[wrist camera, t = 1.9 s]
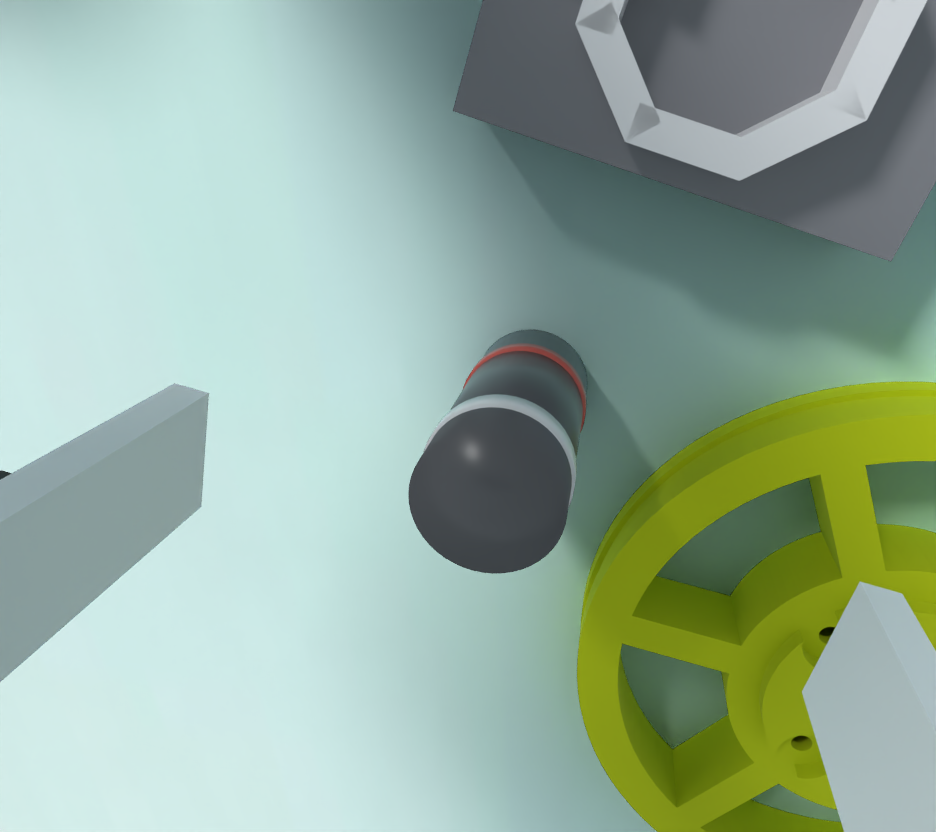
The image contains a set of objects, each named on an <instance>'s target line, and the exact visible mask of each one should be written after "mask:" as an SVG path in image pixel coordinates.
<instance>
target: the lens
mask: <svg viewBox="0 0 936 832" xmlns="http://www.w3.org/2000/svg"><path fill="white" fill-rule="evenodd" d="M586 392H587V375H586V371H585V367H584V365H583V362H582V360H581V359H580V357H579V355H578V354H577V353H576V351H575V350H574V349H573V348H572V347H571V346H570V345H569V344H568V343H567V342H565V341H564V340H563V339H561V338H559V337H558V336H556V335H553V334H551V333H548V332H545V331H540V330H521V331H516V332H513V333H510V334H508V335H506V336H504V337H502V338H500V339H499V340H498V341H496V342H495V343H494V344H493V345H492V346H491V347H490V348H489V349H488V351H487V352H486V353H485V355H484V357H483V358H482V359H481V360H480V361H479V362H478V363H477V365H476V366H475V367H474V368H473V370H472V372H471V373H470V375H469V377H468V378H467V380H466V382H465V385H464V387H463V390H462V392H461V394H460V395H459V397H458V398H457V400H456V402H455V403H454V405H453V406H452V408H451V410H450V411H449V412H448V413H447V414H446V415H445V416H444V417H443V419H442V420H441V421H440V422H439V424H438V425H437V427H436V428H435V430H434V432H433V433H432V435H431V437H430V438H429V440H428V442H427V444H426V447H425V449H424V453H423V455H422V456H421V458H420V460H419V461H418V463H417V465H416V466H415V468H414V471H413V473H412V476H411V480H410V484H409V505H410V510H411V514H412V517H413V520H414V522H415V524H416V526H417V528H418V530H419V531H420V533H421V534H422V536H423V537H424V539H425V540H426V541H427V542H428V543H429V545H430V546H431V547H432V548H434V549H435V550H436V551H437V552H438V553H439V554H441V555H442V556H443V557H445V558H446V559H448V560H450V561H451V562H453V563H455V564H457V565H459V566H462V567H464V568H467V569H470V570H474V571H479V572H484V573H507V572H513V571H517V570H521V569H524V568H526V567H529V566H531V565H533V564H535V563H536V562H538V561H540V560H541V559H542V558H544V557H545V556H546V555H547V554H548V553H549V552H550V551H551V550H552V549H553V548H554V547H555V545H556V544H557V542H558V541H559V539H560V537H561V535H562V533H563V530H564V527H565V524H566V519H567V513H568V507H569V506H570V503H571V500H572V497H573V493H574V487H575V481H576V473H577V463H576V456H577V449H578V443H579V436H580V432H581V430H582V427H583V424H584V419H585V413H586Z"/></svg>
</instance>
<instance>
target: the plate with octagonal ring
mask: <svg viewBox="0 0 936 832" xmlns="http://www.w3.org/2000/svg"><path fill="white" fill-rule="evenodd" d="M453 111H455V112H458V113H461V114H464V115H466V116H469V117H472V118H475V119H478V120H481V121H484V122H487V123H490V124H493V125H496V126H498V127H501V128H504V129H507V130H510V131H513V132H516V133H519V134H522V135H525V136H528V137H530V138H533V139H536V140H539V141H542V142H545V143H548V144H551V145H554V146H557V147H559V148H562V149H565V150H568V151H571V152H574V153H577V154H580V155H583V156H586V157H589V158H591V159H594V160H597V161H600V162H603V163H606V164H609V165H612V166H615V167H618V168H621V169H623V170H626V171H629V172H632V173H635V174H638V175H641V176H644V177H647V178H650V179H653V180H655V181H658V182H661V183H664V184H667V185H670V186H673V187H676V188H679V189H682V190H685V191H687V192H690V193H693V194H696V195H699V196H702V197H705V198H708V199H711V200H714V201H717V202H719V203H722V204H725V205H728V206H731V207H734V208H737V209H740V210H743V211H746V212H749V213H751V214H754V215H757V216H760V217H763V218H766V219H769V220H772V221H775V222H778V223H781V224H783V225H786V226H789V227H792V228H795V229H798V230H801V231H804V232H807V233H810V234H813V235H815V236H818V237H821V238H824V239H827V240H830V241H833V242H836V243H839V244H842V245H845V246H847V247H850V248H853V249H856V250H859V251H862V252H865V253H868V254H871V255H874V256H876V257H879V258H882V259H885V260H888V261H892V259H893V257H894V255H895V254H896V252H897V250H898V248H899V246H900V245H901V243H902V241H903V239H904V238H905V236H906V234H907V232H908V230H909V229H910V227H911V225H912V223H913V222H914V220H915V218H916V216H917V214H918V213H919V211H920V209H921V207H922V206H923V204H924V202H925V200H926V198H927V197H928V195H929V193H930V191H931V190H932V188H933V186H934V184H935V183H936V0H483V2H482V6H481V10H480V13H479V17H478V21H477V24H476V28H475V32H474V35H473V39H472V43H471V46H470V50H469V54H468V57H467V61H466V65H465V68H464V72H463V75H462V79H461V83H460V86H459V90H458V94H457V97H456V101H455V105H454V108H453Z"/></svg>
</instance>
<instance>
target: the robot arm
mask: <svg viewBox="0 0 936 832" xmlns="http://www.w3.org/2000/svg"><path fill="white" fill-rule="evenodd" d="M208 397H209V393H206V392H203V391H199V390H196V389H192V388H189V387H186V386H182V385H179V384H175V383H174V384H173V385H171V386H169V387H167V388H165V389H164V390H162V391H160V392H158V393H156V394H155V395H153V396H151V397H149V398H147V399H146V400H144V401H142V402H140V403H138V404H136V405H135V406H133V407H131V408H129V409H127V410H126V411H124V412H122V413H120V414H118V415H117V416H115V417H113V418H111V419H109V420H108V421H106V422H104V423H102V424H100V425H98V426H97V427H95V428H93V429H91V430H89V431H88V432H86V433H84V434H82V435H80V436H79V437H77V438H75V439H73V440H71V441H70V442H68V443H66V444H64V445H62V446H61V447H59V448H57V449H55V450H53V451H51V452H50V453H48V454H46V455H44V456H42V457H41V458H39V459H37V460H35V461H33V462H32V463H30V464H28V465H26V466H24V467H23V468H21V469H19V470H17V471H15V472H13V473H8V472H5V471H0V682H1V681H2V680H3V679H4V678H5V677H6V676H8V675H9V674H10V673H11V672H12V671H13V670H14V669H16V668H17V667H18V666H19V665H20V664H21V663H23V662H24V661H25V660H26V659H27V658H28V657H29V656H31V655H32V654H33V653H34V652H35V651H36V650H37V649H39V648H40V647H41V646H42V645H43V644H44V643H45V642H47V641H48V640H49V639H50V638H51V637H52V636H53V635H55V634H56V633H57V632H58V631H59V630H60V629H61V628H63V627H64V626H65V625H66V624H67V623H68V622H69V621H71V620H72V619H73V618H74V617H75V616H76V615H78V614H79V613H80V612H81V611H82V610H83V609H84V608H86V607H87V606H88V605H89V604H90V603H91V602H92V601H94V600H95V599H96V598H97V597H98V596H99V595H100V594H102V593H103V592H104V591H105V590H106V589H107V588H108V587H110V586H111V585H112V584H113V583H114V582H115V581H116V580H118V579H119V578H120V577H121V576H122V575H123V574H124V573H126V572H127V571H128V570H129V569H130V568H131V567H133V566H134V565H135V564H136V563H137V562H138V561H139V560H141V559H142V558H143V557H144V556H145V555H146V554H147V553H149V552H150V551H151V550H152V549H153V548H154V547H155V546H157V545H158V544H159V543H160V542H161V541H162V540H163V539H165V538H166V537H167V536H168V535H169V534H170V533H171V532H173V531H174V530H175V529H176V528H177V527H178V526H179V525H181V524H182V523H183V522H184V521H185V520H186V519H188V518H189V517H190V516H191V515H192V514H193V513H194V512H196V511H197V510H198V509H199V508H200V507H201V502H202V487H203V472H204V457H205V442H206V427H207V412H208ZM802 694H803V698H804V701H805V704H806V708H807V711H808V714H809V718H810V721H811V724H812V727H813V731H814V734H815V737H816V741H817V744H818V747H819V751H820V754H821V757H822V761H823V764H824V767H825V770H826V774H827V777H828V780H829V784H830V787H831V790H832V794H833V797H834V800H835V804H836V807H837V810H838V813H839V817H840V820H841V823H842V827H843V830H844V832H936V651H935V649H934V647H933V646H932V644H931V642H930V640H929V639H928V637H927V635H926V634H925V632H924V630H923V628H922V627H921V625H920V623H919V622H918V620H917V618H916V616H915V615H914V613H913V611H912V610H911V608H910V606H909V604H908V603H907V601H906V599H905V598H904V596H903V594H902V593H898V592H895V591H891V590H888V589H884V588H881V587H877V586H874V585H871V584H867V583H864V582H859V584H858V586H857V588H856V590H855V591H854V593H853V595H852V597H851V599H850V601H849V603H848V605H847V607H846V609H845V610H844V612H843V614H842V616H841V618H840V620H839V622H838V624H837V626H836V628H835V630H834V631H833V633H832V635H831V637H830V639H829V641H828V643H827V645H826V647H825V649H824V650H823V652H822V654H821V656H820V658H819V660H818V662H817V664H816V666H815V668H814V669H813V671H812V673H811V675H810V677H809V679H808V681H807V683H806V685H805V687H804V689H803V690H802Z"/></svg>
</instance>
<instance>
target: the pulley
mask: <svg viewBox="0 0 936 832" xmlns="http://www.w3.org/2000/svg"><path fill="white" fill-rule="evenodd" d="M907 461H936V383H933V382H881V383H867V384H859V385H850V386H843V387H837V388H832V389H826V390H821V391H817V392H812V393H808V394H804V395H800V396H796V397H793V398H789V399H786V400H783V401H779V402H776V403H773V404H771V405H768V406H765V407H762V408H760V409H757V410H754V411H752V412H750V413H747V414H745V415H743V416H741V417H738V418H736V419H734V420H732V421H730V422H728V423H726V424H724V425H722V426H720V427H718V428H716V429H714V430H713V431H711V432H709V433H708V434H706V435H704V436H703V437H701V438H699V439H697V440H696V441H694V442H693V443H691V444H690V445H689V446H687V447H686V448H684V449H683V450H681V451H680V452H678V453H677V454H676V455H675V456H673V457H672V458H671V459H670V460H668V461H667V462H666V463H665V464H663V465H662V466H661V467H660V468H659V469H658V470H657V471H656V472H654V473H653V474H652V475H651V476H650V477H649V478H648V479H647V480H646V481H645V482H644V483H643V484H642V485H641V486H640V487H639V488H638V489H637V490H636V492H635V493H634V494H633V495H632V496H631V498H630V499H629V500H628V501H627V502H626V504H625V505H624V506H623V508H622V509H621V510H620V512H619V513H618V515H617V516H616V518H615V519H614V520H613V522H612V524H611V526H610V527H609V529H608V531H607V532H606V534H605V536H604V538H603V540H602V542H601V544H600V546H599V548H598V550H597V553H596V555H595V558H594V560H593V563H592V566H591V569H590V572H589V576H588V579H587V583H586V588H585V593H584V599H583V608H582V617H581V631H580V639H579V649H578V661H577V683H578V695H579V702H580V708H581V712H582V716H583V721H584V724H585V727H586V730H587V733H588V736H589V739H590V741H591V744H592V746H593V749H594V751H595V753H596V755H597V757H598V759H599V761H600V763H601V765H602V766H603V768H604V770H605V771H606V773H607V775H608V776H609V778H610V780H611V781H612V782H613V784H614V785H615V787H616V788H617V789H618V791H619V792H620V793H621V795H622V796H623V797H624V798H625V799H626V801H627V802H628V803H629V804H630V805H631V806H632V808H633V809H634V810H635V811H636V812H637V813H638V814H639V815H640V816H641V817H642V818H643V819H644V820H645V821H646V822H647V823H648V824H649V825H650V826H651V827H653V828H654V829H655V830H656V831H657V832H844V830H843V827H842V823H841V822H834V821H828V820H821V819H815V818H810V817H805V816H801V815H797V814H793V813H789V812H785V811H782V810H779V809H775V808H772V807H769V806H766V805H764V804H761V803H758V802H756V801H753V800H751V799H752V798H754V797H756V796H757V795H759V794H761V793H763V792H765V791H766V790H768V789H770V788H772V787H774V786H775V785H777V784H780V785H781V786H783V787H785V788H786V789H788V790H790V791H791V792H793V793H795V794H797V795H799V796H801V797H803V798H805V799H807V800H810V801H812V802H814V803H817V804H820V805H823V806H826V807H829V808H832V809H836V810H837V807H836V804H835V800H834V797H833V794H832V790H831V787H830V784H829V780H828V777H827V774H826V770H825V767H824V764H823V761H822V757H821V754H820V751H819V747H818V744H817V741H816V737H815V734H814V731H813V727H812V724H811V721H810V718H809V714H808V711H807V708H806V704H805V701H804V698H803V694H802V690H803V689H804V687H805V685H806V683H807V681H808V679H809V677H810V675H811V673H812V671H813V669H814V668H815V666H816V664H817V662H818V660H819V658H820V656H821V654H822V652H823V650H824V649H825V647H826V645H827V643H828V641H829V639H830V637H831V635H832V633H833V631H834V630H835V628H836V626H837V624H838V622H839V620H840V618H841V616H842V614H843V612H844V610H845V609H846V607H847V605H848V603H849V601H850V599H851V597H852V595H853V593H854V591H855V590H856V588H857V586H858V584H859V582H864V583H867V584H871V585H874V586H877V587H881V588H884V589H888V590H891V591H895V592H898V593H902V594H903V596H904V598H905V599H906V601H907V603H908V604H909V606H910V608H911V610H912V611H913V613H914V615H915V616H916V618H917V620H918V622H919V623H920V625H921V627H922V628H923V630H924V632H925V634H926V635H927V637H928V639H929V640H930V642H931V644H932V646H933V647H934V649H935V651H936V533H934V532H931V531H927V530H923V529H918V528H914V527H908V526H900V525H889V524H877V523H876V517H875V512H874V507H873V502H872V497H871V491H870V486H869V481H868V476H867V471H866V465H872V464H881V463H890V462H907ZM806 478H809V480H810V485H811V490H812V494H813V499H814V503H815V508H816V512H817V517H818V521H819V526H820V530H821V532H818V533H815V534H812V535H809V536H806V537H803V538H801V539H798V540H796V541H794V542H792V543H790V544H788V545H786V546H784V547H782V548H780V549H778V550H777V551H775V552H773V553H772V554H770V555H769V556H768V557H766V558H765V559H763V560H762V561H761V562H760V563H758V564H757V565H756V566H755V567H754V568H753V569H751V570H750V571H749V572H748V574H747V575H746V576H745V577H744V578H743V579H742V580H741V581H740V583H739V584H738V585H737V587H736V588H735V589H734V591H733V592H732V594H731V596H729V595H725V594H721V593H718V592H714V591H710V590H706V589H703V588H699V587H695V586H692V585H688V584H684V583H680V582H677V581H673V580H669V579H666V578H662V577H658V576H656V575H657V573H658V572H659V571H660V570H661V569H662V567H663V566H664V565H665V564H666V563H667V562H668V561H669V560H670V558H671V557H672V556H673V555H674V554H675V553H676V552H677V551H678V550H679V549H680V548H682V547H683V546H684V545H685V544H686V543H687V542H688V541H689V540H690V539H692V538H693V537H694V536H695V535H697V534H698V533H699V532H701V531H702V530H703V529H704V528H706V527H707V526H708V525H710V524H711V523H713V522H714V521H716V520H717V519H719V518H720V517H722V516H723V515H725V514H727V513H729V512H730V511H732V510H734V509H735V508H737V507H739V506H741V505H743V504H745V503H747V502H749V501H751V500H753V499H755V498H757V497H759V496H761V495H763V494H766V493H768V492H770V491H773V490H775V489H777V488H780V487H783V486H785V485H788V484H791V483H794V482H797V481H799V480H803V479H806ZM622 644H625V645H629V646H632V647H636V648H640V649H643V650H647V651H650V652H654V653H657V654H661V655H665V656H668V657H672V658H675V659H679V660H682V661H686V662H689V663H693V664H697V665H700V666H704V667H707V668H711V669H714V670H718V671H721V673H722V679H723V685H724V691H725V697H726V703H727V709H728V715H727V716H725V717H723V718H722V719H720V720H719V721H717V722H715V723H714V724H712V725H711V726H709V727H707V728H706V729H704V730H703V731H701V732H699V733H698V734H696V735H695V736H693V737H691V738H690V739H688V740H687V741H685V742H683V743H682V744H680V745H679V746H677V747H675V748H674V749H672V748H671V747H670V746H669V745H668V744H667V743H666V742H665V741H664V740H663V739H662V738H661V736H660V735H659V734H658V733H657V732H656V731H655V729H654V728H653V727H652V725H651V724H650V723H649V721H648V720H647V718H646V717H645V715H644V714H643V712H642V710H641V709H640V707H639V705H638V703H637V701H636V699H635V698H634V696H633V693H632V691H631V689H630V686H629V684H628V681H627V678H626V675H625V672H624V668H623V664H622V659H621V653H620V652H621V647H622Z"/></svg>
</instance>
